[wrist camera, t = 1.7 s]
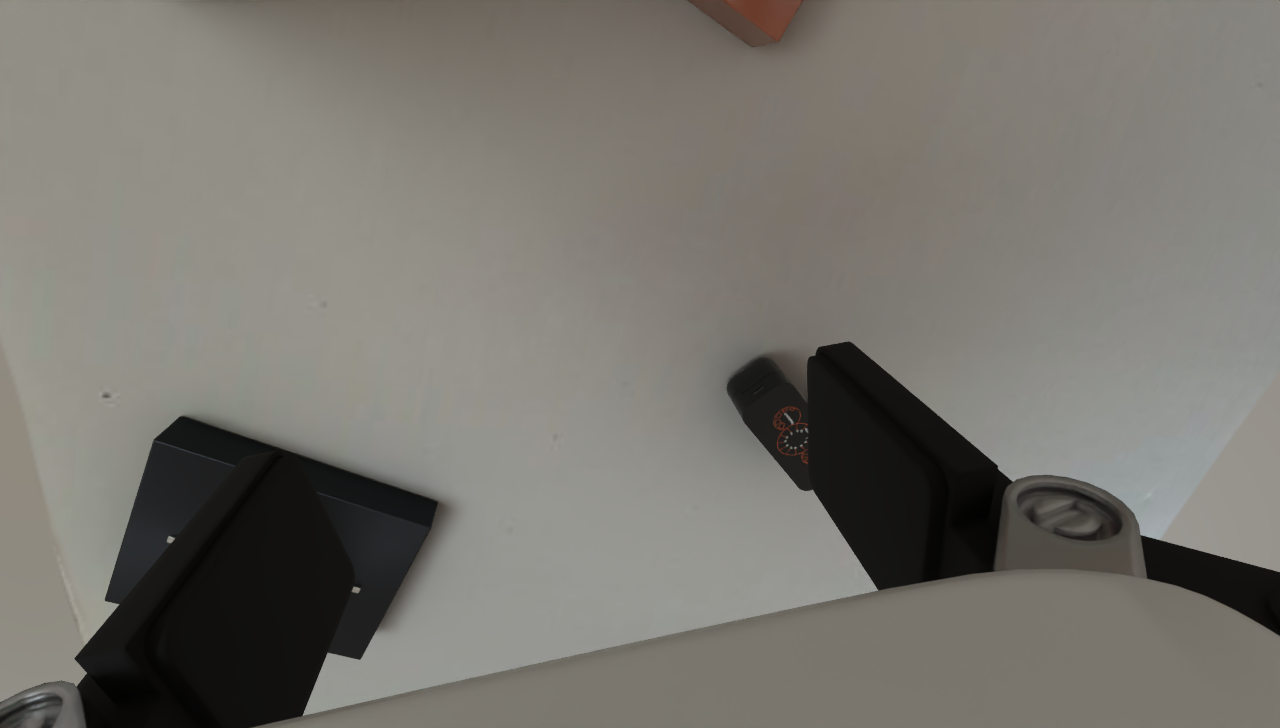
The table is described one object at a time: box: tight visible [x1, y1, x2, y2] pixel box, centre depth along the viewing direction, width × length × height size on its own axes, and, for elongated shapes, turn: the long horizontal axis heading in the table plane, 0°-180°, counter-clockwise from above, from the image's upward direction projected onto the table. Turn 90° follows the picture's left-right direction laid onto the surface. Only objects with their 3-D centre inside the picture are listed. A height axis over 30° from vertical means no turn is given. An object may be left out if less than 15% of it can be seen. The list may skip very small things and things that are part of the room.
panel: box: [105, 417, 438, 660], centre depth 28 cm, size 12×10×2 cm
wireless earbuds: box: [726, 358, 813, 491], centre depth 29 cm, size 5×7×3 cm, turn 38°
